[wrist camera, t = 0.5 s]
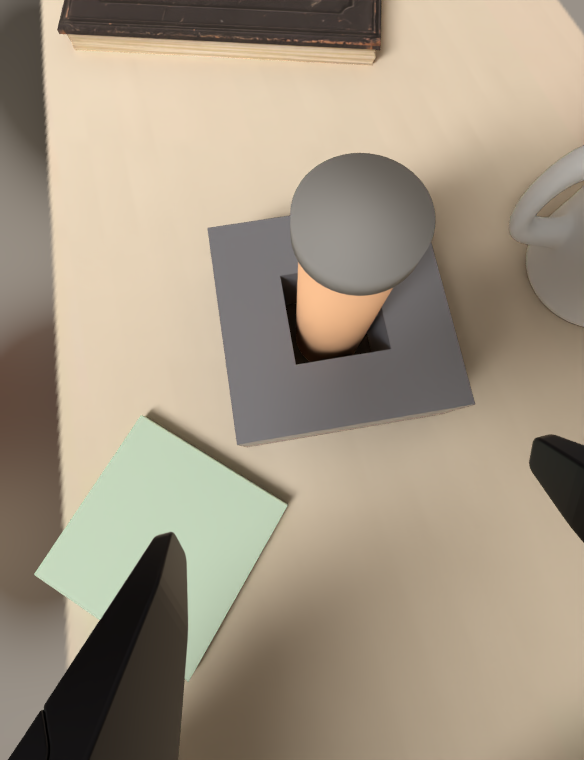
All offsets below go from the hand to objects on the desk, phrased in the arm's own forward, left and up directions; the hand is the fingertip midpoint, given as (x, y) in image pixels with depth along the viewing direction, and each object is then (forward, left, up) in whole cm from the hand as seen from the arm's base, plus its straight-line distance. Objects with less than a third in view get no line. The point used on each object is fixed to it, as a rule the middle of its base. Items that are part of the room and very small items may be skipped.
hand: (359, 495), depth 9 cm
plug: (+4, -8, -13) cm, 16 cm away
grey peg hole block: (+4, -8, -13) cm, 16 cm away
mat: (+6, +7, -13) cm, 16 cm away
